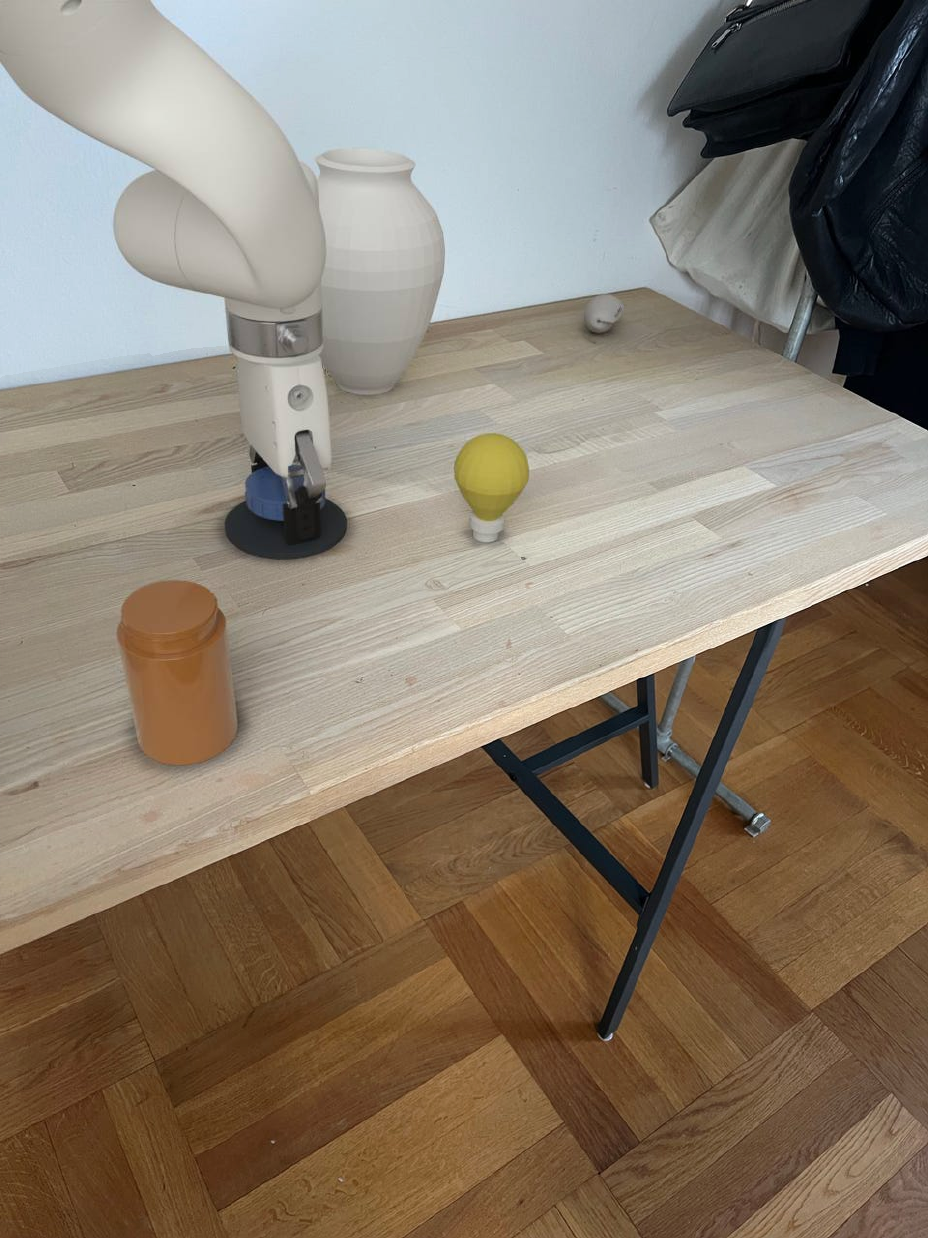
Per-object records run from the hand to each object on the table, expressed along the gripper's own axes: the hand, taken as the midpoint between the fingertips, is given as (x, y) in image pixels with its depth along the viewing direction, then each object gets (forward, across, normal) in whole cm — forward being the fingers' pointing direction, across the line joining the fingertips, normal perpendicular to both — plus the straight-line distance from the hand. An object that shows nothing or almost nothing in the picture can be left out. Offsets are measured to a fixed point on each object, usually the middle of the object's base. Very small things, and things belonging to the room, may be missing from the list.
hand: (286, 519), depth 85 cm
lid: (-3, 0, 0) cm, 3 cm away
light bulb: (+1, -9, -16) cm, 18 cm away
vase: (+1, +27, -21) cm, 34 cm away
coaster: (+1, 0, 0) cm, 1 cm away
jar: (+1, -22, +16) cm, 27 cm away
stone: (+1, +31, -60) cm, 67 cm away
